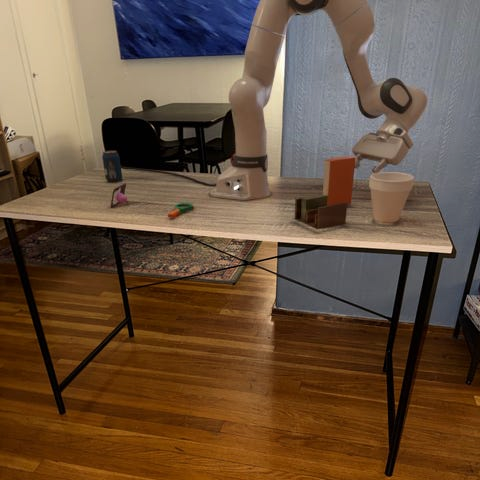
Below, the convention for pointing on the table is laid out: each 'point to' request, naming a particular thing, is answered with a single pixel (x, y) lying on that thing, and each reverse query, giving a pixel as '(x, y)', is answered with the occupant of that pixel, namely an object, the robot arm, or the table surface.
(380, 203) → the flower pot
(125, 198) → the brown pink framed ornament
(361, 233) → the table surface
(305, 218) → the rack
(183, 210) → the magnifying glass
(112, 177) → the soda can
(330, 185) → the book
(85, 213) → the table surface
